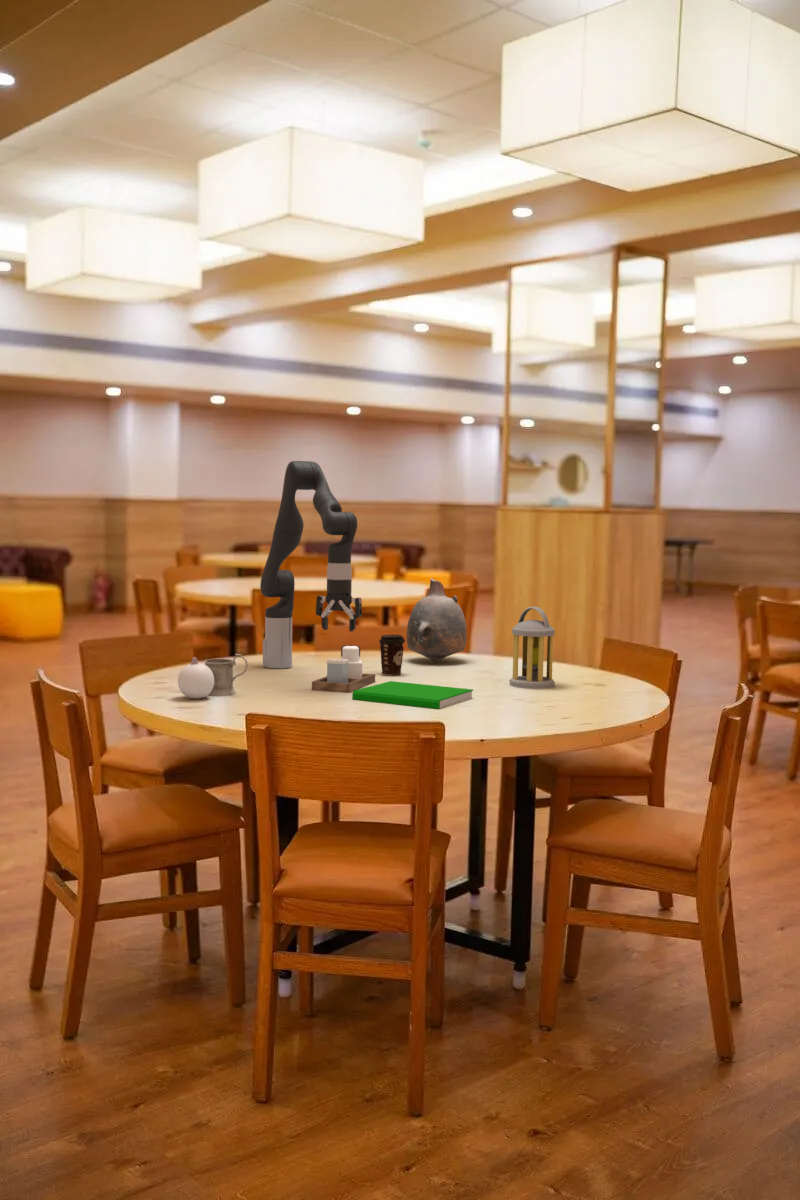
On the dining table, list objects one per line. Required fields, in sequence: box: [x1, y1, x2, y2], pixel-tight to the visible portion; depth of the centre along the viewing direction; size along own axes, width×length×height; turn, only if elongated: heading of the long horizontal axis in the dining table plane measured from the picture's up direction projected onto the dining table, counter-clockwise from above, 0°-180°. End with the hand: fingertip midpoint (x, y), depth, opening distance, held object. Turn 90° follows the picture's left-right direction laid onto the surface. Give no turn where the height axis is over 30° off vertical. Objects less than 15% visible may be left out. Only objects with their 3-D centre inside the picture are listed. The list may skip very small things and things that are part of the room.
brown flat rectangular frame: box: [311, 672, 376, 694], centre depth 371 cm, size 12×23×2 cm, turn 162°
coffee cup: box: [378, 634, 406, 676], centre depth 396 cm, size 9×8×13 cm
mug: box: [204, 653, 249, 697], centre depth 353 cm, size 14×10×12 cm
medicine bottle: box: [340, 644, 363, 679], centre depth 376 cm, size 7×7×12 cm
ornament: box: [177, 656, 214, 700], centre depth 344 cm, size 10×10×12 cm
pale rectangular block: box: [325, 657, 349, 684], centre depth 366 cm, size 5×5×9 cm
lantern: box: [509, 606, 556, 690], centre depth 378 cm, size 14×14×25 cm
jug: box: [406, 577, 468, 663], centre depth 427 cm, size 24×21×30 cm
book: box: [351, 680, 474, 710], centre depth 350 cm, size 22×28×3 cm
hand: (338, 630), depth 365 cm, fingers open, 8 cm apart
